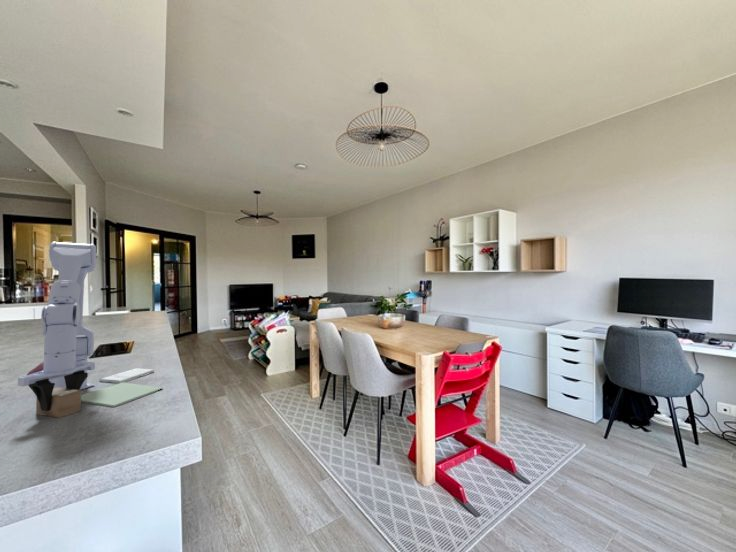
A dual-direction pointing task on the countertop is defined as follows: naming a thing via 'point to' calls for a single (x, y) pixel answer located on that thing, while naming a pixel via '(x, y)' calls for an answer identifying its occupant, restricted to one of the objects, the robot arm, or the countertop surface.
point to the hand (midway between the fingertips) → (58, 406)
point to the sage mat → (118, 394)
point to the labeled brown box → (62, 402)
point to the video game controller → (37, 368)
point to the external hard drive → (126, 375)
